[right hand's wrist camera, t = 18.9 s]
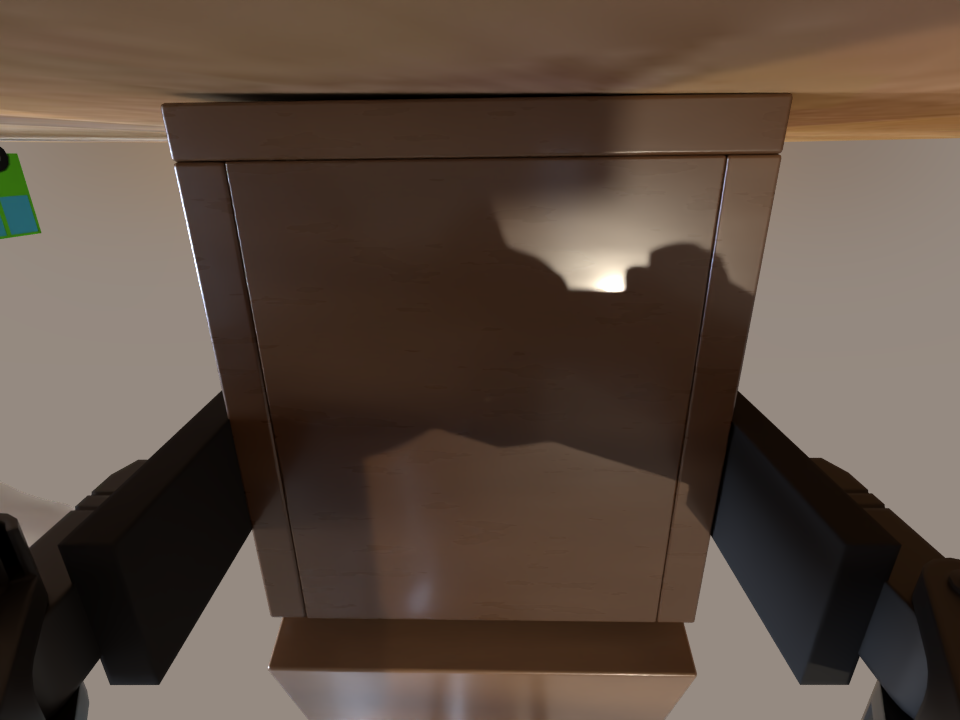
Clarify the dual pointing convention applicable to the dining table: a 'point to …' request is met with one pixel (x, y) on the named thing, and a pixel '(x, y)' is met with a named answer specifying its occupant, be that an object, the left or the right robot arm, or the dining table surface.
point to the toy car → (15, 200)
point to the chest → (480, 341)
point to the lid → (481, 669)
